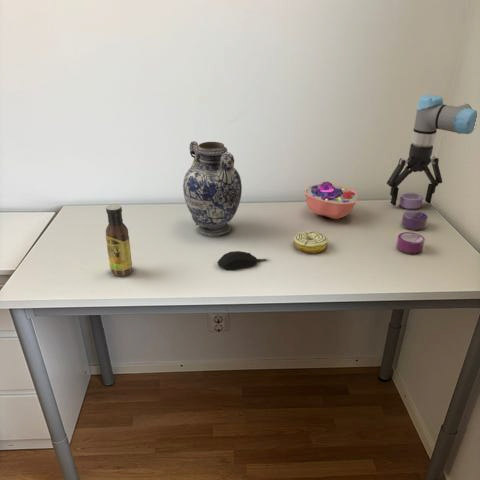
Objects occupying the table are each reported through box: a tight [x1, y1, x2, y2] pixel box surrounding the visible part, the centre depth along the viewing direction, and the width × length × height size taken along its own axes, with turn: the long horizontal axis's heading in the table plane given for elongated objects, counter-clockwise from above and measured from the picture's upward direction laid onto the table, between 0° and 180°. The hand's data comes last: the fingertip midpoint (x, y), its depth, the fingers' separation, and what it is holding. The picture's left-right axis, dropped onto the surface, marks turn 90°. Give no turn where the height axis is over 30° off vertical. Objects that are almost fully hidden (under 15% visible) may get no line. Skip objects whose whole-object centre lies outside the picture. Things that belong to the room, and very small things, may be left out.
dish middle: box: [400, 210, 429, 231], centre depth 173 cm, size 8×8×4 cm
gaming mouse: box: [217, 250, 267, 270], centre depth 151 cm, size 6×15×4 cm, turn 107°
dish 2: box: [395, 231, 426, 255], centre depth 159 cm, size 8×8×4 cm
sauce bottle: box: [105, 203, 133, 277], centre depth 142 cm, size 6×6×20 cm
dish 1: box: [398, 191, 424, 210], centre depth 188 cm, size 8×8×4 cm
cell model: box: [304, 180, 358, 220], centre depth 179 cm, size 17×20×11 cm
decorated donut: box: [293, 231, 329, 254], centre depth 160 cm, size 10×11×4 cm
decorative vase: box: [182, 140, 243, 237], centre depth 164 cm, size 21×19×28 cm
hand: (410, 203), depth 188 cm, fingers open, 13 cm apart
